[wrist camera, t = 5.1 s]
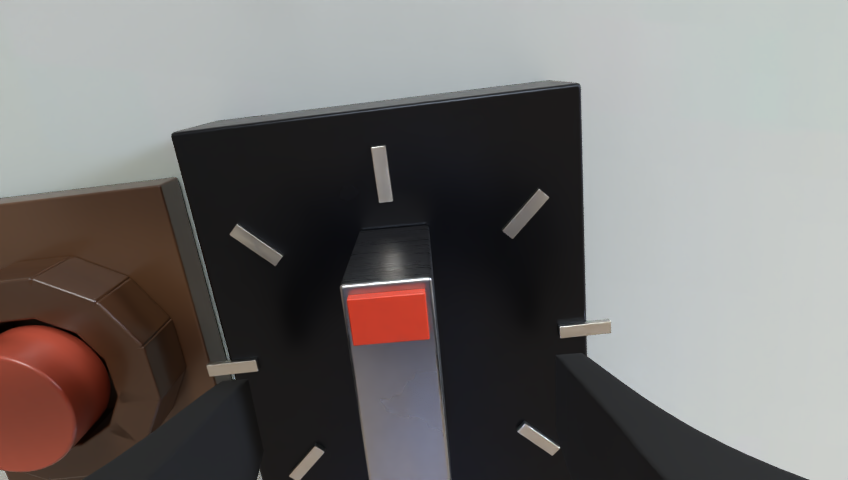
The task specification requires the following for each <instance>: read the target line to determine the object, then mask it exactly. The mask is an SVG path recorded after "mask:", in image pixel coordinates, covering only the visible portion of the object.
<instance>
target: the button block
mask: <svg viewBox="0 0 848 480" xmlns="http://www.w3.org/2000/svg"><path fill="white" fill-rule="evenodd" d="M25 325H44V326H50V327H54V328H57V329H61V330H63V331H66V332H68V333H70V334H72V335H74V336H76V337H78V338H79V339H81V340H82V341H83V342H85V343H86V344H87V345H88V346H90V347H91V348H92V349H93V350H94V351H95V352H96V354H97V355H98V356H99V358H100V359H101V360H102V362H103V364H104V365H105V367H106V370H107V372H108V375H109V378H110V384H111V394H110V400H109V403H108V406H107V408H106V410H105V412H104V413H103V415H102V416H101V417H100V418H99V419H98V420H97V422H96V423H95V424H94V425H93V426H92V427H91V428H90V429H89V430H88V431H87V433H86V434H85V435H84V436H83V437H82V438H81V439H80V440H79V441H78V442H77V444H76V445H75V446H74V447H73V448H72V449H71V450H70V451H69V452H68V453H67V455H66V456H64V457H63V458H62V459H61V460H60V461H58V462H56V463H55V464H53V465H51V466H48V467H46V468H43V469H40V470H36V471H30V472H10V471H5V472H6V474H7V477H8V479H9V480H82V479H84V478H85V477H87V476H89V475H90V474H92V473H93V472H95V471H96V470H98V469H100V468H101V467H103V466H104V465H106V464H107V463H109V462H110V461H112V460H113V459H115V458H116V457H118V456H119V455H121V454H122V453H123V452H125V451H126V450H128V449H129V448H131V447H132V446H134V445H135V444H136V443H138V442H139V441H141V440H142V439H144V438H145V437H146V436H148V435H149V434H151V433H152V432H153V431H155V430H156V429H158V428H159V427H160V426H161V425H163V424H164V423H165V422H167V421H168V420H169V419H171V418H172V417H173V416H175V415H176V414H177V413H179V412H180V411H181V410H183V409H184V408H185V407H187V406H188V405H189V404H191V403H192V402H193V401H195V400H196V399H197V398H199V397H200V396H201V395H203V394H204V393H205V392H207V391H208V390H209V389H211V388H212V387H214V386H215V385H217V384H218V383H220V382H222V381H227V380H232V379H231V375H230V374H229V375H220V376H209V373H208V370H207V364H208V363H212V362H221V361H227V360H226V357H225V353H224V349H223V345H222V342H221V338H220V334H219V330H218V327H217V323H216V319H215V316H214V312H213V308H212V304H211V301H210V297H209V293H208V290H207V286H206V282H205V278H204V275H203V271H202V267H201V263H200V260H199V256H198V252H197V249H196V245H195V241H194V237H193V234H192V230H191V226H190V222H189V219H188V215H187V211H186V208H185V204H184V200H183V196H182V193H181V189H180V185H179V181H178V178H176V177H173V178H165V179H156V180H148V181H140V182H131V183H123V184H115V185H106V186H98V187H90V188H81V189H73V190H64V191H56V192H48V193H39V194H31V195H23V196H14V197H6V198H0V334H1V333H3V332H5V331H7V330H9V329H12V328H15V327H20V326H25Z"/></svg>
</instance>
